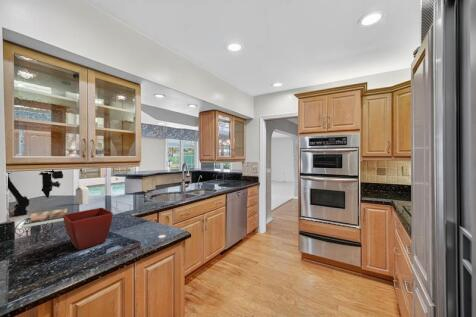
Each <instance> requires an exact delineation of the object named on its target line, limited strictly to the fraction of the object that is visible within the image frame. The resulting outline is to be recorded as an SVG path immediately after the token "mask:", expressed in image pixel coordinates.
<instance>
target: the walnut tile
mask: <svg viewBox="0 0 476 317" xmlns="http://www.w3.org/2000/svg"><path fill="white" fill-rule="evenodd" d="M63 215H65V213H64V212H59V213H52V214H50V215H48V219H49V220H50V219H56V218H63Z"/></svg>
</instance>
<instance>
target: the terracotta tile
mask: <svg viewBox="0 0 476 317" xmlns="http://www.w3.org/2000/svg"><path fill="white" fill-rule="evenodd" d="M47 216H48V215H47V214H46V215H39V216H33V217H32V218H29V219H30V220H29V222H30V223H32V222H38V221H45V220H47Z"/></svg>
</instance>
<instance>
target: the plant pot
mask: <svg viewBox="0 0 476 317" xmlns="http://www.w3.org/2000/svg"><path fill="white" fill-rule="evenodd" d="M113 215H114V212H112V211H110V210H108V209H106V208H104V207H98V208H97V207H96V208H92V209H87V210H82V211H81V210H80V211H76V212H71V213H64V214H63V216H62V217H63V218H64V221H63V223H64V227H65V230H66V232H67V235H68V238H69V240H70V241H71V243H72V245H73V246H74V248H75V249H76V250H77V251H81V250H84V249H87V248H90V247H94V246H98V245H101V244H103V243H105V242H106V241H107V238H108V235H109V232H110V229H111V226H112V223H113ZM100 243H101V244H100Z"/></svg>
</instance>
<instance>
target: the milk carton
mask: <svg viewBox="0 0 476 317" xmlns="http://www.w3.org/2000/svg"><path fill="white" fill-rule="evenodd" d="M89 190H90V189H89V188H88V187H87V185H86V184H81V185H78V187H77V188H76V189H75V205H89V204H90V193H89V192H90V191H89Z"/></svg>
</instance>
